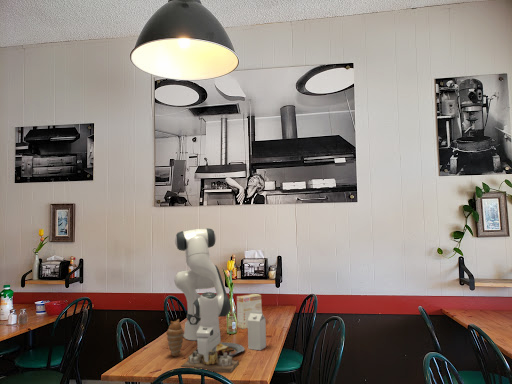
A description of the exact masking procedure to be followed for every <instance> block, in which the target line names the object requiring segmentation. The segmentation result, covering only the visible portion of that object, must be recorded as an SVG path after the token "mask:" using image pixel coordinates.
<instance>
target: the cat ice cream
mask: <svg viewBox="0 0 512 384" xmlns="http://www.w3.org/2000/svg"><path fill="white" fill-rule="evenodd" d="M183 334H184V329H183V327H182V324H181V322H180V318H178V319H176V320H174V321H172V320H170V325H169V326H168V329H167V331H166V335H167V337H166V338H167V345H168V348H169V351H170V352H171V356H173V357H178V356H179V355H180V353H181V349H182V344H183V341H184V337H183Z"/></svg>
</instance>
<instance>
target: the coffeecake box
mask: <svg viewBox="0 0 512 384" xmlns="http://www.w3.org/2000/svg"><path fill="white" fill-rule="evenodd" d="M262 303H263V302H262V295H261V294H258V293H252V294H244V295H237V296H236V315H237V318H236V320H237V321H236V322H237V324H236V325H237V328H240V329H241V330H244V329H248V318H249V316H250V311H256V312H262V313H263V307H262V306H263V305H262Z"/></svg>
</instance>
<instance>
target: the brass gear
mask: <svg viewBox="0 0 512 384" xmlns="http://www.w3.org/2000/svg"><path fill="white" fill-rule="evenodd" d="M211 352H212V354H211V355H208V357H209V361H208V362H205V361H204V356H203V355H202V358H203V364H206V365H209V364H214V363H217V359H218V357H217V352H214V351H211Z"/></svg>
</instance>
